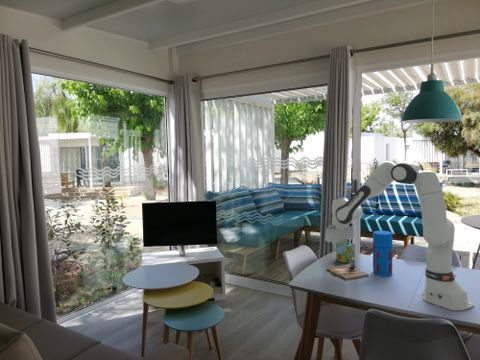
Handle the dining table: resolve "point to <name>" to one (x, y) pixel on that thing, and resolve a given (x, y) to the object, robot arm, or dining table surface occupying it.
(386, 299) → the dining table surface
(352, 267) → the metal door knob
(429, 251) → the robot arm
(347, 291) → the dining table surface
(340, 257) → the chalk box
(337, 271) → the board
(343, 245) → the rotary switch
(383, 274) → the thermos
